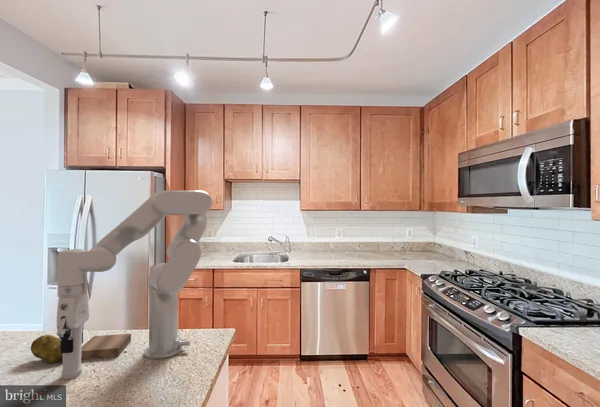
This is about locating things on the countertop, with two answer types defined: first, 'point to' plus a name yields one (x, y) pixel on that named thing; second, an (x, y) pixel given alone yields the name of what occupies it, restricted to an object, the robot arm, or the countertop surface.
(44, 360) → the potato
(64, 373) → the bottle
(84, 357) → the walnut plinth
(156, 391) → the countertop surface
